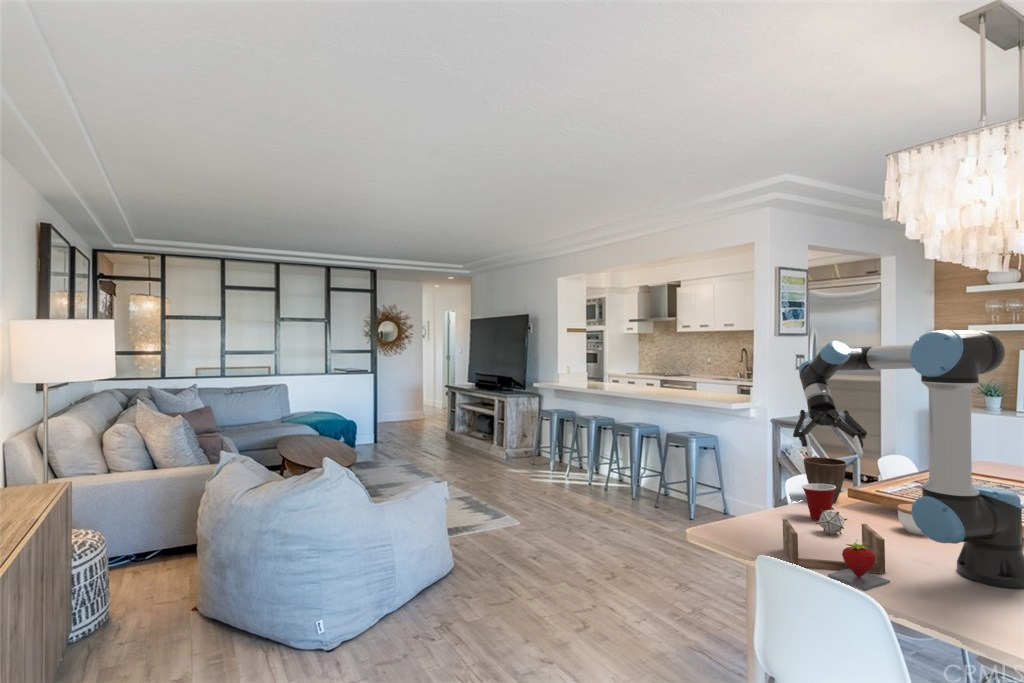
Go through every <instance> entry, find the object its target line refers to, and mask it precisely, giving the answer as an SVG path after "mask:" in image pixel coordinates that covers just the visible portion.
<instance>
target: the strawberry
mask: <svg viewBox="0 0 1024 683" xmlns="http://www.w3.org/2000/svg"><path fill="white" fill-rule="evenodd" d="M857 541H858V539H856V541H855V542H854V543H853V544H851V543H850V544H845V546H847V547H845V548H844V549H843V550H842V553H841V556H842V558H843V561H845V563H846V564H847V566H848V567H849V568H850V569H851V570H852V571H853V573H854V574H855V575H856V576H857V577H862V576H863V575H864V574H865V573H866V572H867V571H869V570H870V568H871V567H872V566H873V565H874V562H875V560H876V558H875V555H874V553H873V552H872V551H870V550H868V548H866V547H869V546H862V544H858V543H857ZM867 573H868V572H867Z"/></svg>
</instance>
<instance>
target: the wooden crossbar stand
mask: <svg viewBox="0 0 1024 683" xmlns="http://www.w3.org/2000/svg"><path fill="white" fill-rule="evenodd" d="M798 535H799V534H798V533H797V531H796V530H795V529H794V527H793V526H792V524H791V523H790V521H789V520H788V519H785V518H784V519H782V542H783V544H782V546H783V547H782V549H783V551H784V553H785V554H786V557H787V558H788V559H789V561H790V562H791V564H792V563H794V564H796V565H799V566H802V567H801V568H809V569H821V570H823V569H824V570H834V571H836V570H837V571H841V570H844V569H848V568H849V567H848V566H847V564H846V563H845V561H844V560H831V559H817V558H816V559H815V558H806V557H799V536H798ZM861 545H862V546H869V547H866V548H868V550H870V551H872V552H873V553H874V555H875V558H876V560H875V562H874V565H873V566H872V567H871V568H870V570H869V571H867V573H872V574H873V573H874V574H875V573H876V574H877V573H878V574H886V545H885V538H884V537H882V536H881V535H880V534H879V533H877V532H876V531H875V530H874V529H872V528H871V526H869V525H868V524H866V523H861Z"/></svg>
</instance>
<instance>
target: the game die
mask: <svg viewBox="0 0 1024 683" xmlns="http://www.w3.org/2000/svg"><path fill="white" fill-rule="evenodd" d="M821 511H822V513H821V515H820V514H819V516H820V518H819V521H817V522H815V523H814V525H819V526H820V527H821V528H822V530H823V531H824V532H826V533H828V536H831V534H836V533H837V534H838V533H839V534H841V535H842V532H841V531H842V530H845V527H844V524H845V521H848V518H844V517H842V515H840V511H835V510H834V507H832V510H826V511H823V510H822V509H821Z"/></svg>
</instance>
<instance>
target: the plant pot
mask: <svg viewBox="0 0 1024 683" xmlns="http://www.w3.org/2000/svg"><path fill="white" fill-rule="evenodd" d="M802 461H803V465H804V472H805V476H806V479H807V480H806V481H807V484H830V485H834V486H836V489H835V492H834V496H833V503H832V505H833V504H836V503H837V502H838V501H837V500H838V499H839V496H840V493H841V490H842V487H843V484H844V480H845V477H846V476H845V475H846V470H847V462H846V461H845V460H842V459H837V458H831V457H830V458H829V457H821V456H818V457H817V456H816V457H814V456H813V457H812V456H811V457H805V458H803V460H802Z"/></svg>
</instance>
